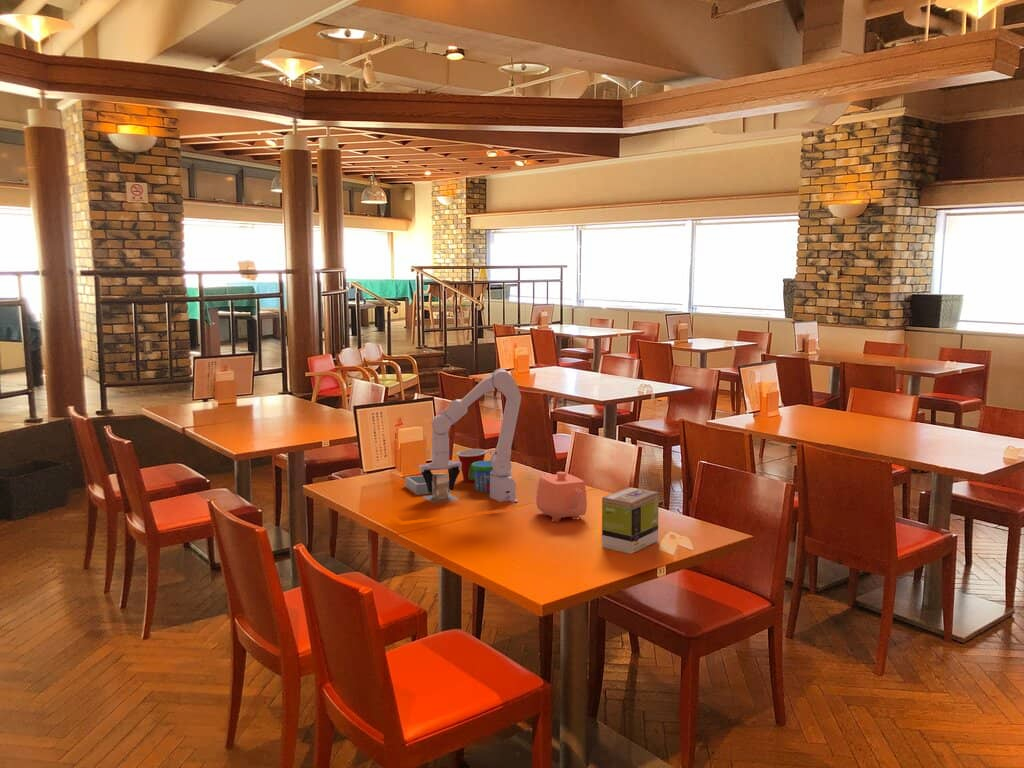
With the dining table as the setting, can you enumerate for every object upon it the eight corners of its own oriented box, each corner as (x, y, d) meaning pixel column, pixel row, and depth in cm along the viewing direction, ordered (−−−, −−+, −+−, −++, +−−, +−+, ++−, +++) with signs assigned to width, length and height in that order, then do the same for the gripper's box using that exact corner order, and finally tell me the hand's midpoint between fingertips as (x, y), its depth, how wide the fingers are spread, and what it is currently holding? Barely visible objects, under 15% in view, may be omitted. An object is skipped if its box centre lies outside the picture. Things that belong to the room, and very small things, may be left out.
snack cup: (460, 490, 289) (460, 462, 288) (482, 485, 296) (482, 458, 295) (491, 498, 278) (491, 468, 277) (513, 493, 285) (513, 464, 284)
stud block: (460, 502, 273) (460, 491, 272) (431, 506, 268) (431, 494, 268) (448, 495, 282) (448, 484, 281) (421, 498, 277) (421, 487, 277)
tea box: (628, 534, 240) (629, 485, 238) (658, 542, 234) (660, 491, 232) (600, 547, 229) (601, 495, 227) (631, 555, 222) (632, 502, 220)
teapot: (596, 524, 251) (597, 478, 249) (559, 528, 245) (560, 482, 244) (563, 505, 270) (564, 463, 269) (528, 509, 265) (529, 467, 264)
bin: (449, 493, 284) (449, 481, 283) (416, 497, 279) (416, 484, 278) (437, 486, 295) (437, 473, 294) (405, 489, 289) (405, 476, 289)
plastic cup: (454, 480, 304) (455, 448, 302) (483, 479, 306) (483, 447, 304) (458, 487, 293) (458, 454, 292) (488, 486, 295) (488, 453, 294)
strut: (448, 498, 274) (448, 475, 273) (437, 499, 272) (437, 476, 271) (443, 495, 278) (443, 472, 277) (432, 496, 276) (432, 473, 275)
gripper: (456, 447, 280) (456, 485, 281) (415, 450, 273) (416, 490, 275) (464, 450, 273) (464, 490, 275) (423, 454, 267) (423, 495, 269)
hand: (440, 490), depth 275 cm, fingers open, 7 cm apart
